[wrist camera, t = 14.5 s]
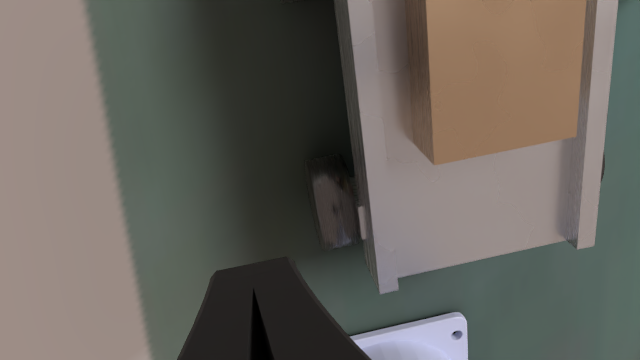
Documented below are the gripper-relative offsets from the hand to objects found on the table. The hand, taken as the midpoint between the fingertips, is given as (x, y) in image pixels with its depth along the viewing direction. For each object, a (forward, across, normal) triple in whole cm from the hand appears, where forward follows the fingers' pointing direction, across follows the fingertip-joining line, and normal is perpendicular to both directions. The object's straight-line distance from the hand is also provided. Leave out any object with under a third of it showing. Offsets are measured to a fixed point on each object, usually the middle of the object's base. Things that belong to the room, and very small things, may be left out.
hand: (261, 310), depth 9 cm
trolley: (+10, -7, -1) cm, 13 cm away
